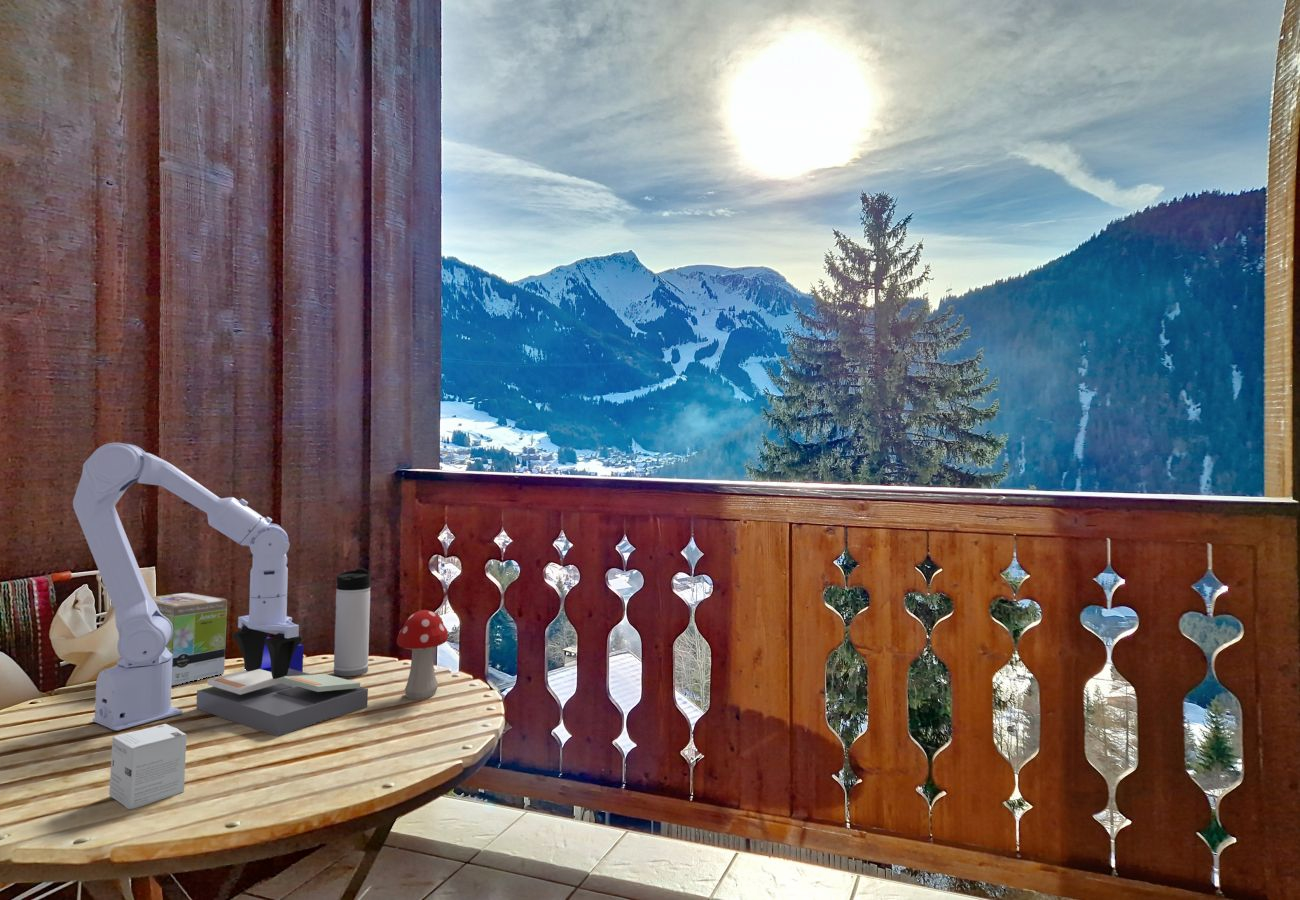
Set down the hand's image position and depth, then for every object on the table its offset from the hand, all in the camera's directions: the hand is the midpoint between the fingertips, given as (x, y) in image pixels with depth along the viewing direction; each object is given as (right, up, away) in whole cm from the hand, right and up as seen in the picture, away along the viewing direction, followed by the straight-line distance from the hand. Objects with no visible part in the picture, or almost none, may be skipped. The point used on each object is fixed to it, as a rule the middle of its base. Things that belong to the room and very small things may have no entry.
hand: (266, 674), depth 121 cm
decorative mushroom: (+25, -6, +5) cm, 26 cm away
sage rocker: (+11, 0, -3) cm, 11 cm away
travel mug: (+7, -6, +18) cm, 20 cm away
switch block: (+6, -5, 0) cm, 7 cm away
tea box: (-25, -5, +15) cm, 30 cm away
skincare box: (+4, -4, -35) cm, 35 cm away
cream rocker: (-2, 0, -3) cm, 3 cm away
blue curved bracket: (-8, -5, +17) cm, 19 cm away
